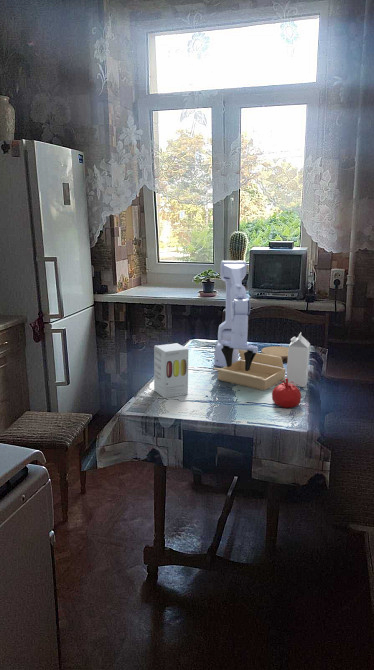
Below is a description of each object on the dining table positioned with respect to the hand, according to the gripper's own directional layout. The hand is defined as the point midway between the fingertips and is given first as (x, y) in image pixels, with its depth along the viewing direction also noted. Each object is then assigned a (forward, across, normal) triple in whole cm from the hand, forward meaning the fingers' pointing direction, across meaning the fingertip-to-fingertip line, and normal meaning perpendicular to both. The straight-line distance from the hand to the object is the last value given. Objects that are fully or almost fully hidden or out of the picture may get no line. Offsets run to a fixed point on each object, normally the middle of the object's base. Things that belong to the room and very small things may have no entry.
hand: (238, 368), depth 186 cm
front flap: (+2, 0, 0) cm, 2 cm away
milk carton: (+7, +16, +16) cm, 24 cm away
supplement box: (+7, -16, -20) cm, 26 cm away
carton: (+7, 0, +10) cm, 13 cm away
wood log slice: (+8, -5, +44) cm, 45 cm away
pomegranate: (+7, +22, -6) cm, 24 cm away
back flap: (0, 0, +17) cm, 17 cm away
